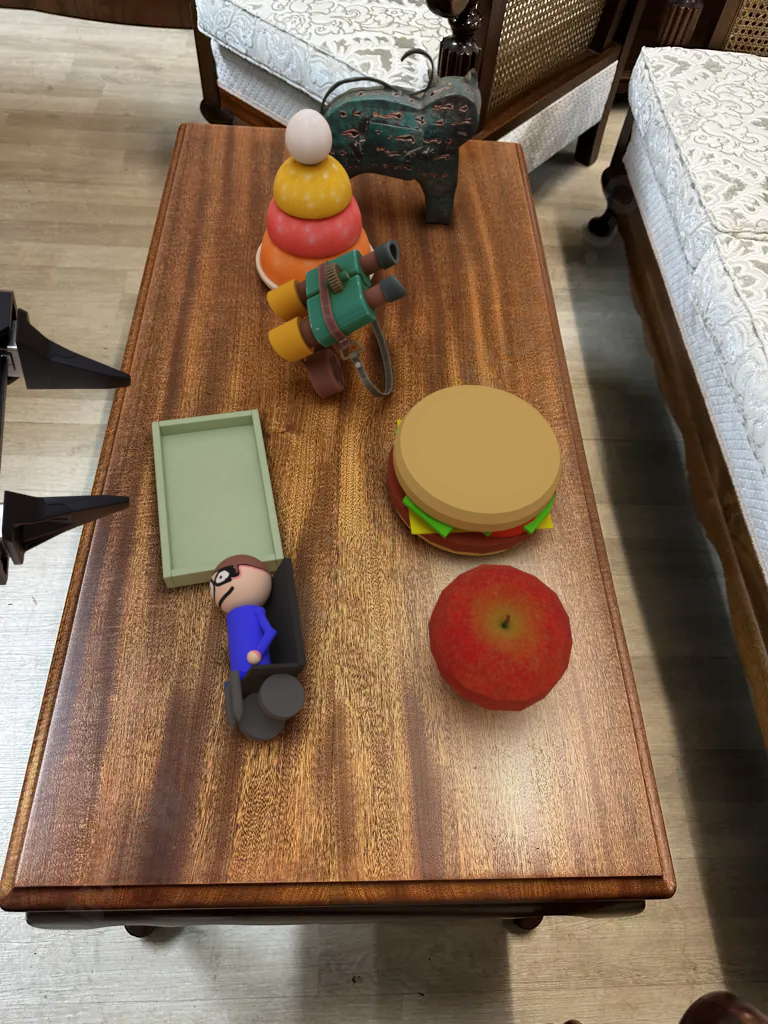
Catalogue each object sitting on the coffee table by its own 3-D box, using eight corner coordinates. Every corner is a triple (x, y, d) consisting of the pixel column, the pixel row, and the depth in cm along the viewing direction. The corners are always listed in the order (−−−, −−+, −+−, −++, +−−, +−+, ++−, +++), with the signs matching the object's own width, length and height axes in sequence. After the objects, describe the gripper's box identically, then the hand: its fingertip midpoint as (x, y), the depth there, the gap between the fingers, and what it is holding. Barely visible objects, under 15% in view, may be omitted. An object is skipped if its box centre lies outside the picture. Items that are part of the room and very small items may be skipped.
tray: (167, 588, 64) (163, 577, 62) (155, 435, 72) (151, 421, 71) (284, 569, 65) (283, 558, 64) (259, 422, 74) (257, 408, 72)
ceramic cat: (460, 205, 96) (490, 43, 79) (462, 236, 93) (494, 74, 76) (312, 193, 95) (310, 27, 78) (308, 224, 92) (305, 57, 75)
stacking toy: (373, 237, 91) (385, 77, 75) (376, 316, 84) (390, 157, 67) (260, 232, 90) (247, 69, 74) (253, 311, 83) (236, 149, 66)
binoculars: (330, 346, 85) (256, 257, 73) (438, 296, 81) (376, 192, 69) (340, 439, 78) (259, 357, 66) (459, 390, 73) (394, 292, 61)
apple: (522, 758, 58) (565, 713, 48) (398, 706, 59) (414, 652, 49) (556, 639, 64) (601, 577, 53) (442, 594, 65) (465, 526, 55)
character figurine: (227, 753, 57) (218, 584, 65) (319, 737, 57) (299, 571, 65) (206, 725, 50) (199, 541, 58) (310, 707, 51) (289, 527, 59)
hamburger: (377, 430, 75) (383, 377, 68) (529, 426, 77) (549, 374, 70) (392, 569, 66) (400, 524, 59) (563, 561, 68) (589, 516, 61)
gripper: (-227, 527, 33) (129, 527, 39) (-167, 211, 40) (131, 247, 45) (-147, 591, 43) (129, 584, 48) (-109, 329, 50) (131, 347, 55)
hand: (130, 439), depth 49 cm, fingers open, 9 cm apart
